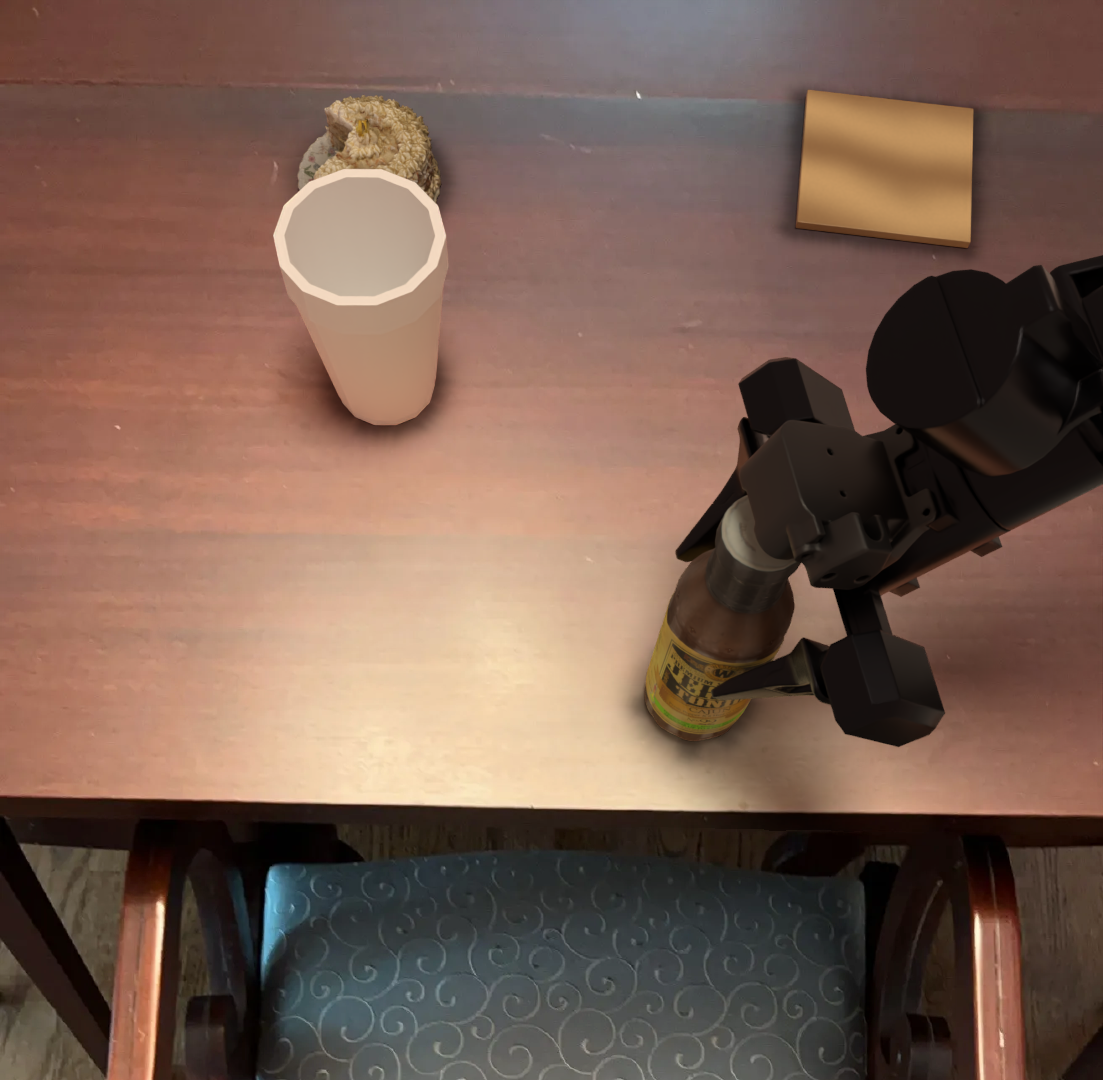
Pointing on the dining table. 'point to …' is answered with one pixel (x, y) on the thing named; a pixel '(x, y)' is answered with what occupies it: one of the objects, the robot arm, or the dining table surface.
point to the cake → (373, 143)
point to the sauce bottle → (718, 629)
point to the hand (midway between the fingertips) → (697, 625)
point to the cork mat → (886, 169)
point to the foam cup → (368, 286)
